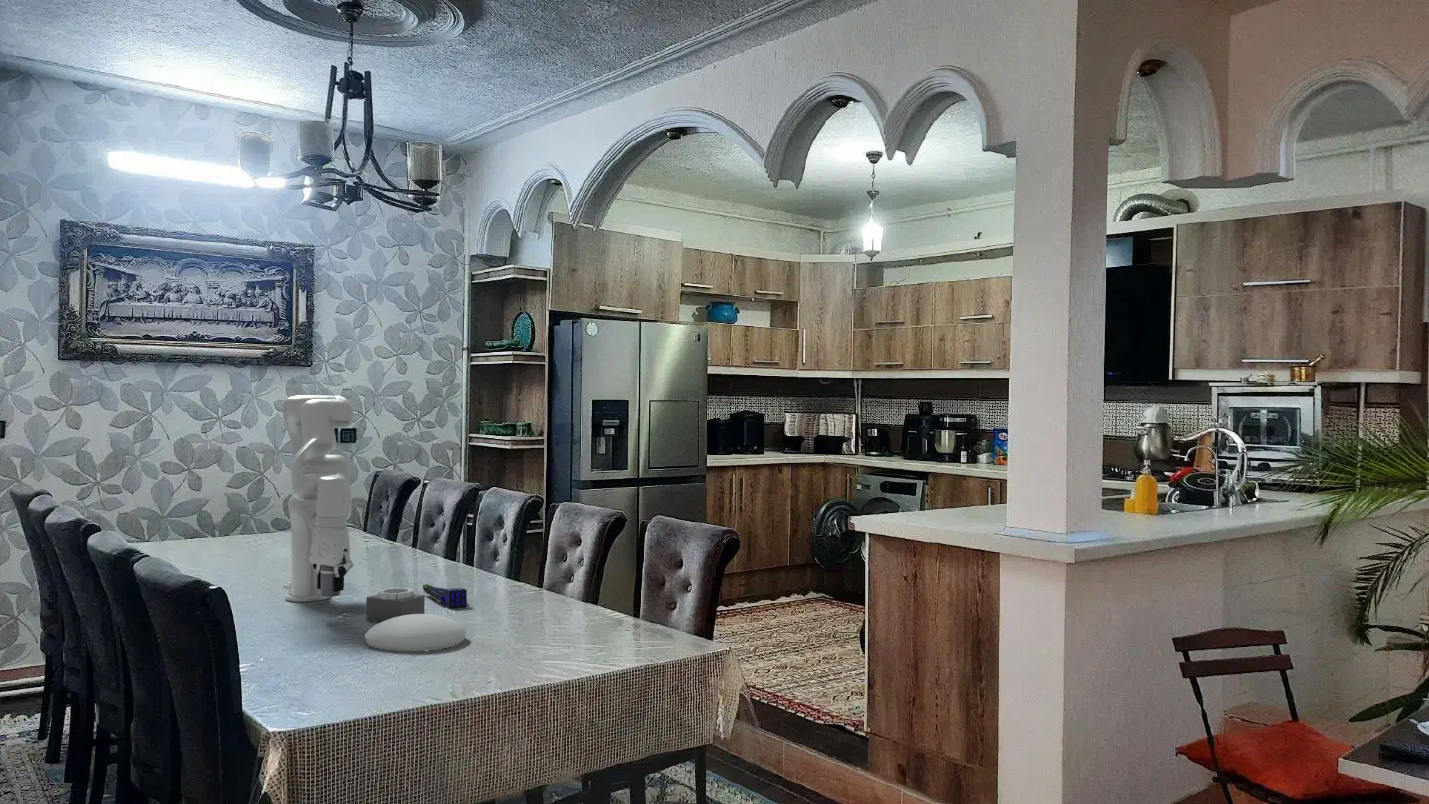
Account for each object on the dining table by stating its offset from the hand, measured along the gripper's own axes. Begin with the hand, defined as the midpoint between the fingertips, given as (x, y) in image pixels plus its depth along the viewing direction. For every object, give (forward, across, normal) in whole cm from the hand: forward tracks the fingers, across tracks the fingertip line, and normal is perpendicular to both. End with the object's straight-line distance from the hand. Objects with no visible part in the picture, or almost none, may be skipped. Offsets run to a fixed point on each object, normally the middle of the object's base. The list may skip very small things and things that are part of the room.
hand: (330, 588), depth 272 cm
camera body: (+8, +15, +8) cm, 19 cm away
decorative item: (+7, +38, -10) cm, 40 cm away
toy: (+9, +10, +35) cm, 38 cm away
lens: (+2, 0, 0) cm, 2 cm away
